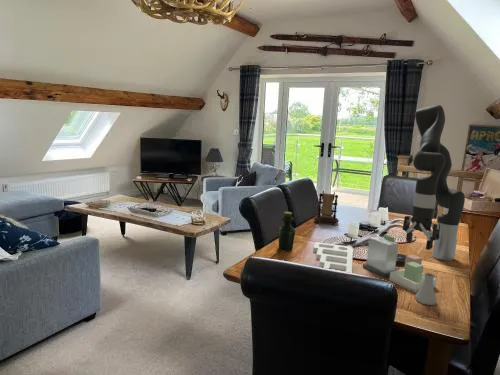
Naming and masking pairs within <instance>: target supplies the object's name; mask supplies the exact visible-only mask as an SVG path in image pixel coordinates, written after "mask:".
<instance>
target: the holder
mask: <svg viewBox="0 0 500 375" xmlns="http://www.w3.org/2000/svg"><path fill="white" fill-rule="evenodd" d="M312 248H313V249H312V250H313V251H312V252H314V253H316V256H315V259H316V260H319V264H318V266H319V267H320V268H323V269H324V268H331V270H338V271H345V272H350V273H352V274H353V253H354V252H353V246H350V245H349V246H348V245H341V244H333V243H328V242H318V241H315V242H314V245H313V247H312Z"/></svg>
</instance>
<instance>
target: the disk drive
mask: <svg viewBox="0 0 500 375" xmlns="http://www.w3.org/2000/svg"><path fill="white" fill-rule="evenodd" d="M408 255H409V254H403V253H397V258H396V265H395V266H400V267H404V266H405V259H406V256H408Z"/></svg>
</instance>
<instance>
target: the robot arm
mask: <svg viewBox="0 0 500 375" xmlns="http://www.w3.org/2000/svg"><path fill="white" fill-rule="evenodd" d="M414 116H415V122H416V126H417V128H418V132H419V134H420V137H421V138H420V144H419V149H418V151H417V152H416V154H415V156H414V157H413V164H412V165H413V167H414V168H415V169H416V170H418V171H420V172H421V171H422V172H430V173H431V174H430V175H428V176H421V177H418V178H417V179H416V182H415V188H414V189H415V191H414V196H413V199H412V200H413V202H412V207H411V210H412V211H411V215H406V216H405V215H404V217H403V224H402V230H403V231H404V232H406V236H405V240H406V243H407V244H411V243H412V242H413V235H414V234H413V232H414V231H419V232H421V233H423V234H424V235H425V237H426V239H427V240H426V245H425V250H428V251H430V250H432V253H431V256H432V257H433V258H434V259H437V260H442V261H447V262H448V261H449V262H450V261H454V259H455V256H456V250H457V242H458V239H457V237H458V233H459V232H458V230H459V225H460V221H461V219H462V216H463V211H464V207H465V203H466V202H465V201H466V196H465V193H464V192H463V191H461V190H458V189H457V190H456V189H454V188H449V186H448V183H447V178H448V175H449V173H450V172H451V169H452V166H453V164H452V159H451V154H450V151H449V149H448V148H447V147H446V146H445V145H443V143H441V137H442V133H443V131H444V127H445V125H446V124H445V123H446V114H445V110H444V108H443V106H442V105H440V104H435V105H431V106H426V107H423V108H419V109H417V110H416V111H415V112H414ZM436 204H437V205H438V206H439V207H441V208H445V209H448V211H447V213H446V214H445V213H444V214H439V215H438V216H437V219H436V223H433V218H434V215H435V208H436Z"/></svg>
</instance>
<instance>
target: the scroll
mask: <svg viewBox="0 0 500 375" xmlns="http://www.w3.org/2000/svg"><path fill="white" fill-rule="evenodd" d="M318 197H319V199H318V208H317V215H316V216H314V218H313V220H314V221H315V222H316V224H317V225H319V223H321V224H329V225H332V226H335V224H339V219H338V218H337V206H338V198H339V195H338V194H336V191H334V192H333V193H327V192H325V191H324V190H323V191H322V193H319V194H318Z"/></svg>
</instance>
